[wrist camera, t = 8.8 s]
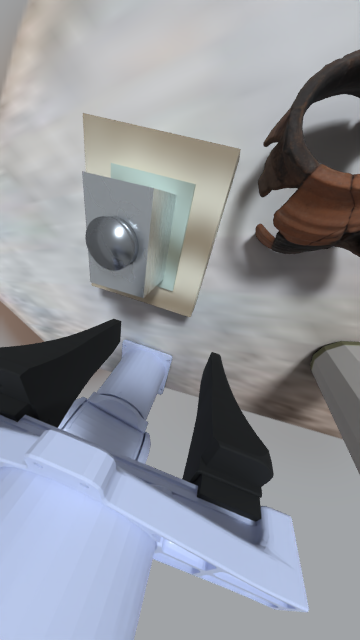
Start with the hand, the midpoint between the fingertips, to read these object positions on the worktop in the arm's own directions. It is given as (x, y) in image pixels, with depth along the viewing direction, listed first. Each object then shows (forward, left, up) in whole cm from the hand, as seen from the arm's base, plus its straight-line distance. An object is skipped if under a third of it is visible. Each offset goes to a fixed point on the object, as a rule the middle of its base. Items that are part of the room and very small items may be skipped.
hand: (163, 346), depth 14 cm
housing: (+6, +5, -7) cm, 10 cm away
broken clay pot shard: (+12, -8, -10) cm, 18 cm away
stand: (+6, +5, -10) cm, 13 cm away
